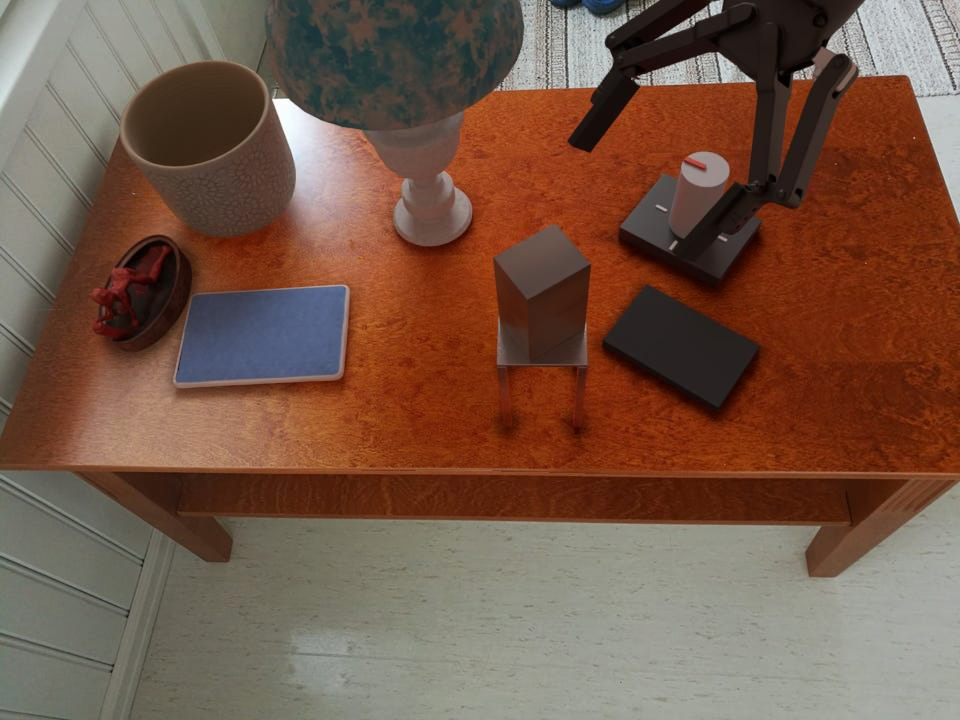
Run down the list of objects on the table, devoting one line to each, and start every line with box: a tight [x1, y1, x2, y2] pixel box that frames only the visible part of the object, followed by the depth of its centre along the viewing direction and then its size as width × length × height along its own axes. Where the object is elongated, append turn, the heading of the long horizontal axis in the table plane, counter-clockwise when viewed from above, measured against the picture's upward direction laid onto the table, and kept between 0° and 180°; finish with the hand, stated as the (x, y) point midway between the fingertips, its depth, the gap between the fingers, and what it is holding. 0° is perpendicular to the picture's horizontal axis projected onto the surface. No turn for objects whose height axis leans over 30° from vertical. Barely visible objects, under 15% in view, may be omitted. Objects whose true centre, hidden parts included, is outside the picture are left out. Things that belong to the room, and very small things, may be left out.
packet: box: [492, 222, 592, 362], centre depth 62 cm, size 5×6×10 cm
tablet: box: [172, 284, 351, 390], centre depth 85 cm, size 19×13×1 cm, turn 91°
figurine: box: [90, 233, 193, 353], centre depth 86 cm, size 15×10×10 cm, turn 4°
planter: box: [118, 59, 297, 239], centre depth 88 cm, size 17×17×15 cm
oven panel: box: [617, 172, 763, 290], centre depth 87 cm, size 13×10×2 cm
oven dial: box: [669, 151, 731, 239], centre depth 82 cm, size 5×5×9 cm
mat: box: [601, 283, 761, 413], centre depth 80 cm, size 14×9×1 cm, turn 53°
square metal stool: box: [496, 311, 589, 428], centre depth 73 cm, size 8×8×14 cm
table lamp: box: [264, 0, 525, 247], centre depth 74 cm, size 24×24×40 cm
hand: (628, 199), depth 58 cm, fingers open, 13 cm apart
